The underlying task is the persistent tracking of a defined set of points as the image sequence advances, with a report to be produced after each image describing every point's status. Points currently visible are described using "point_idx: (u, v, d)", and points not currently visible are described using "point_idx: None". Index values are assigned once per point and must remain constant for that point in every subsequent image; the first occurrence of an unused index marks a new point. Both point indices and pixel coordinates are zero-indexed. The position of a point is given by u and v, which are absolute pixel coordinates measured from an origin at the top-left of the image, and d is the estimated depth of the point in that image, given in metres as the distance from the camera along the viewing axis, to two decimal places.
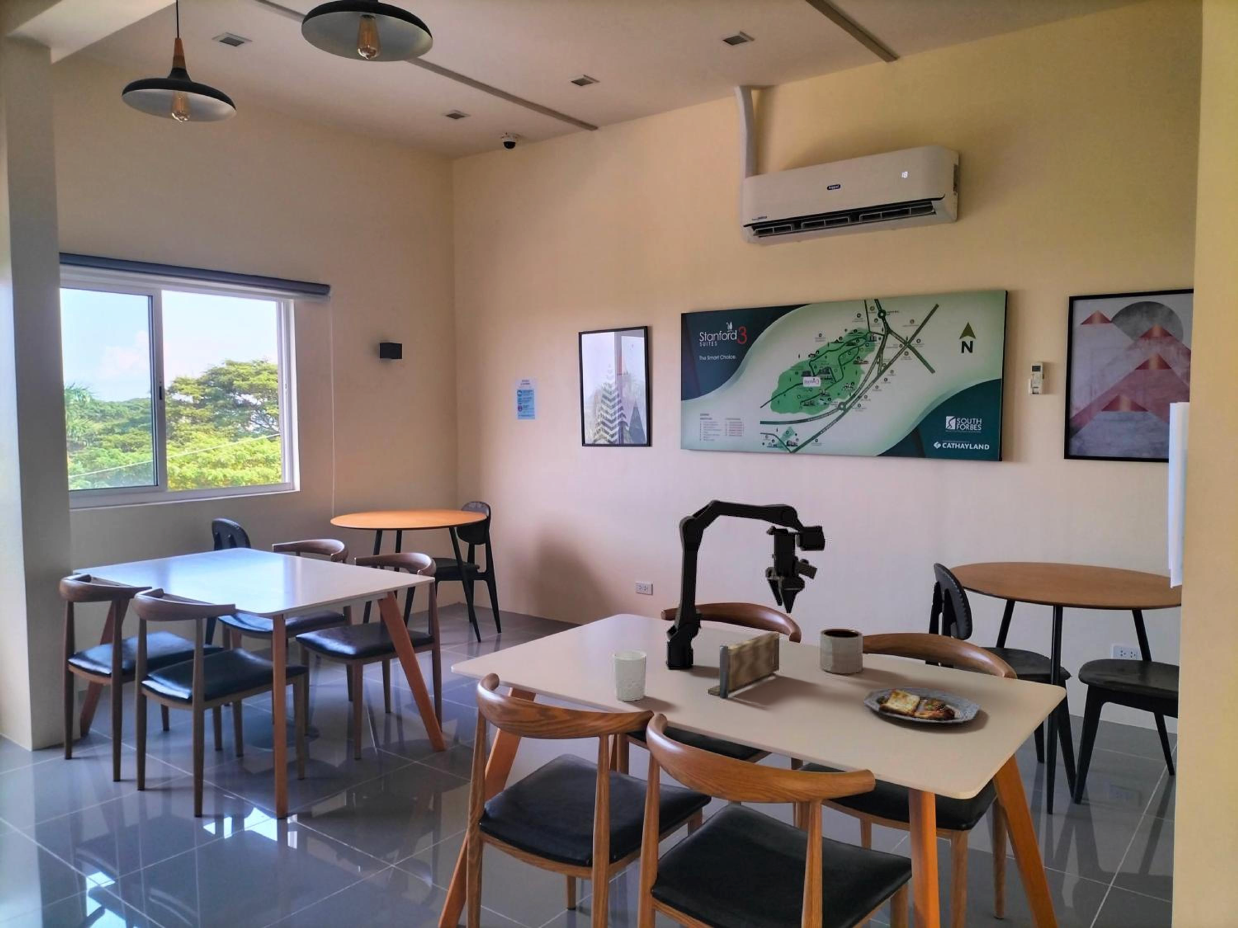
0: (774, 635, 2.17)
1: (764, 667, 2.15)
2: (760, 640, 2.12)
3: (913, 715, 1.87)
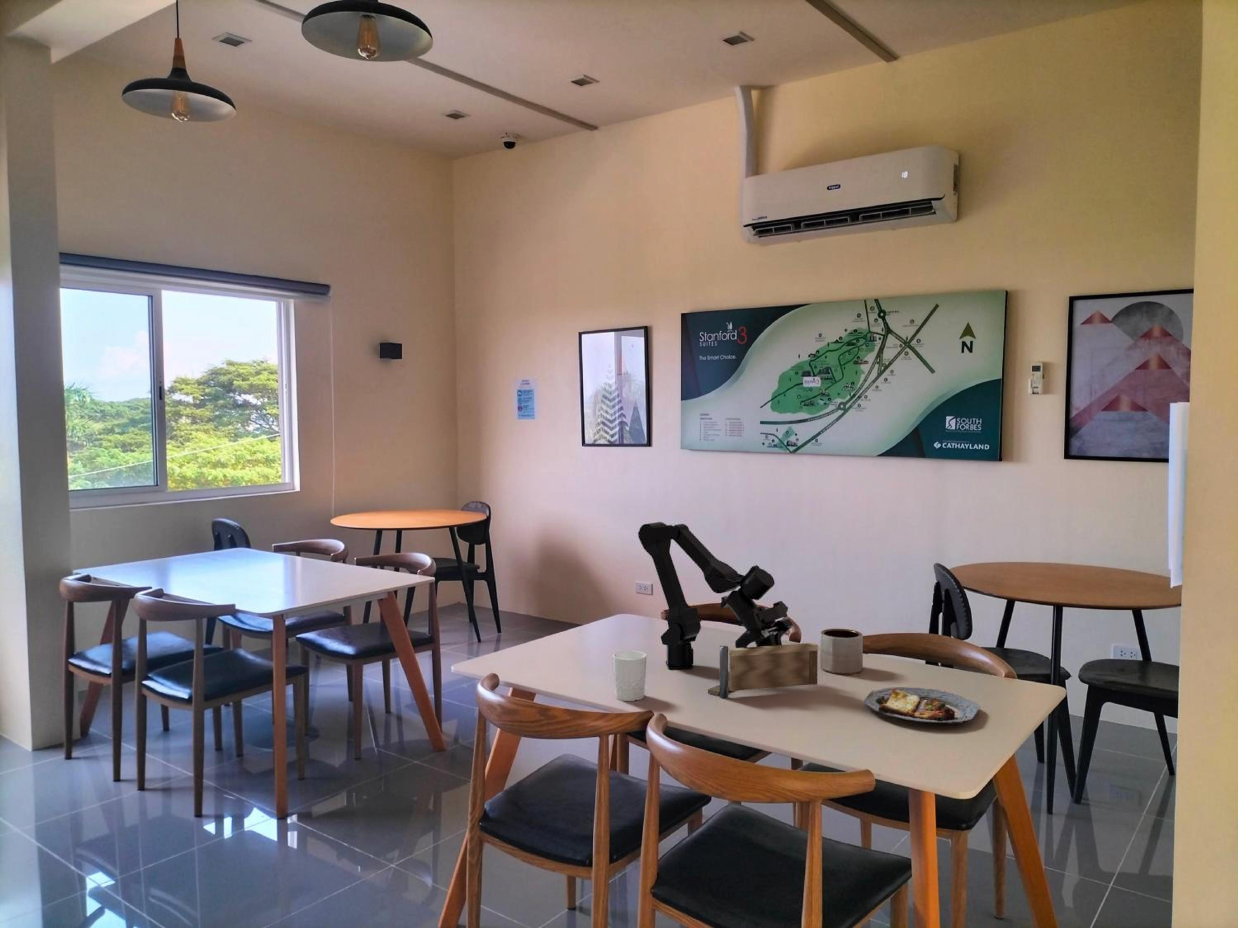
0: (808, 646, 2.06)
1: (791, 677, 2.06)
2: (782, 648, 2.05)
3: (913, 715, 1.87)
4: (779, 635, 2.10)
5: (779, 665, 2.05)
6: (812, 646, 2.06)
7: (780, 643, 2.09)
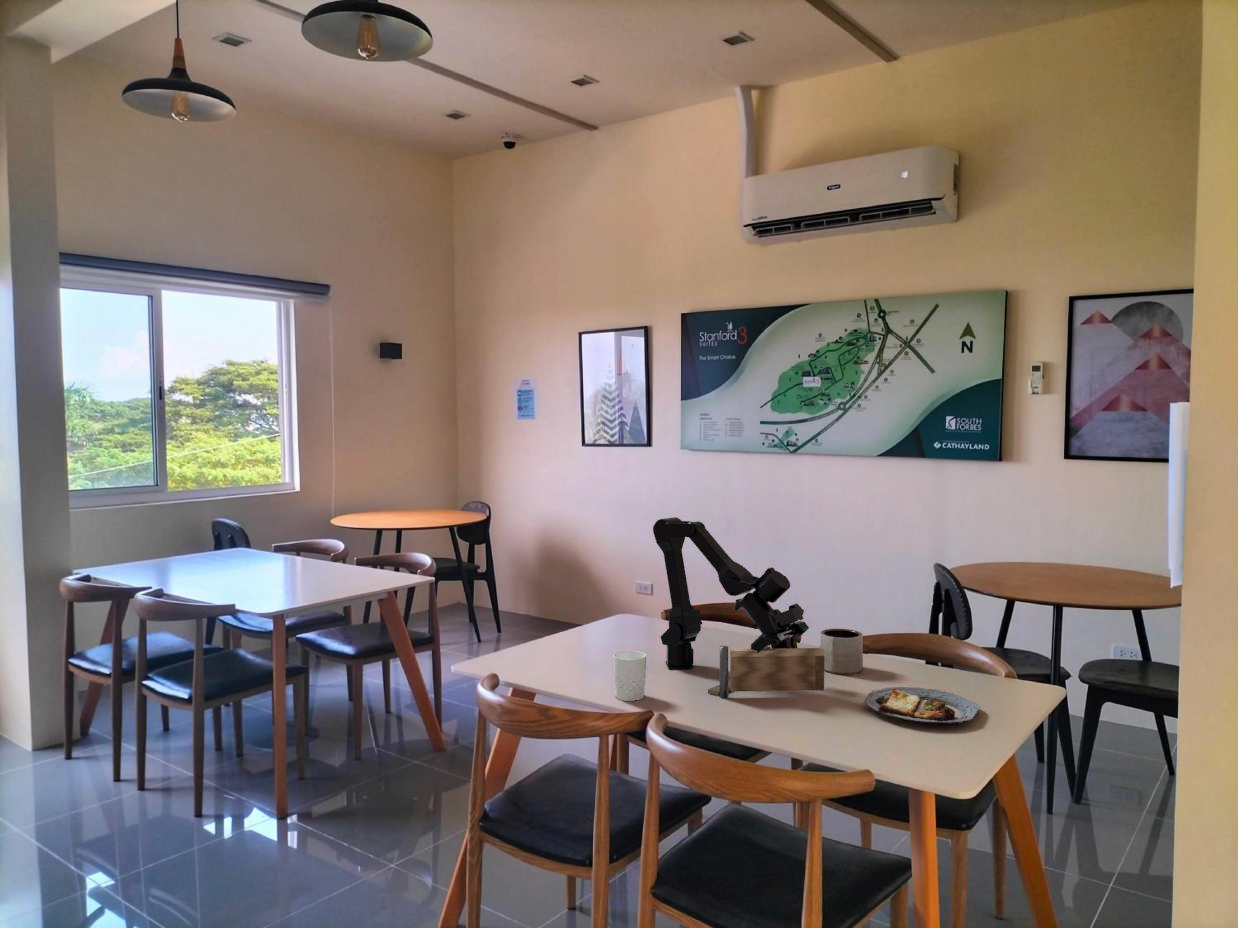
0: (813, 651, 2.02)
1: (795, 682, 2.02)
2: (786, 651, 2.02)
3: (913, 715, 1.87)
4: (795, 638, 2.07)
5: (782, 668, 2.02)
6: (818, 651, 2.02)
7: (796, 646, 2.07)
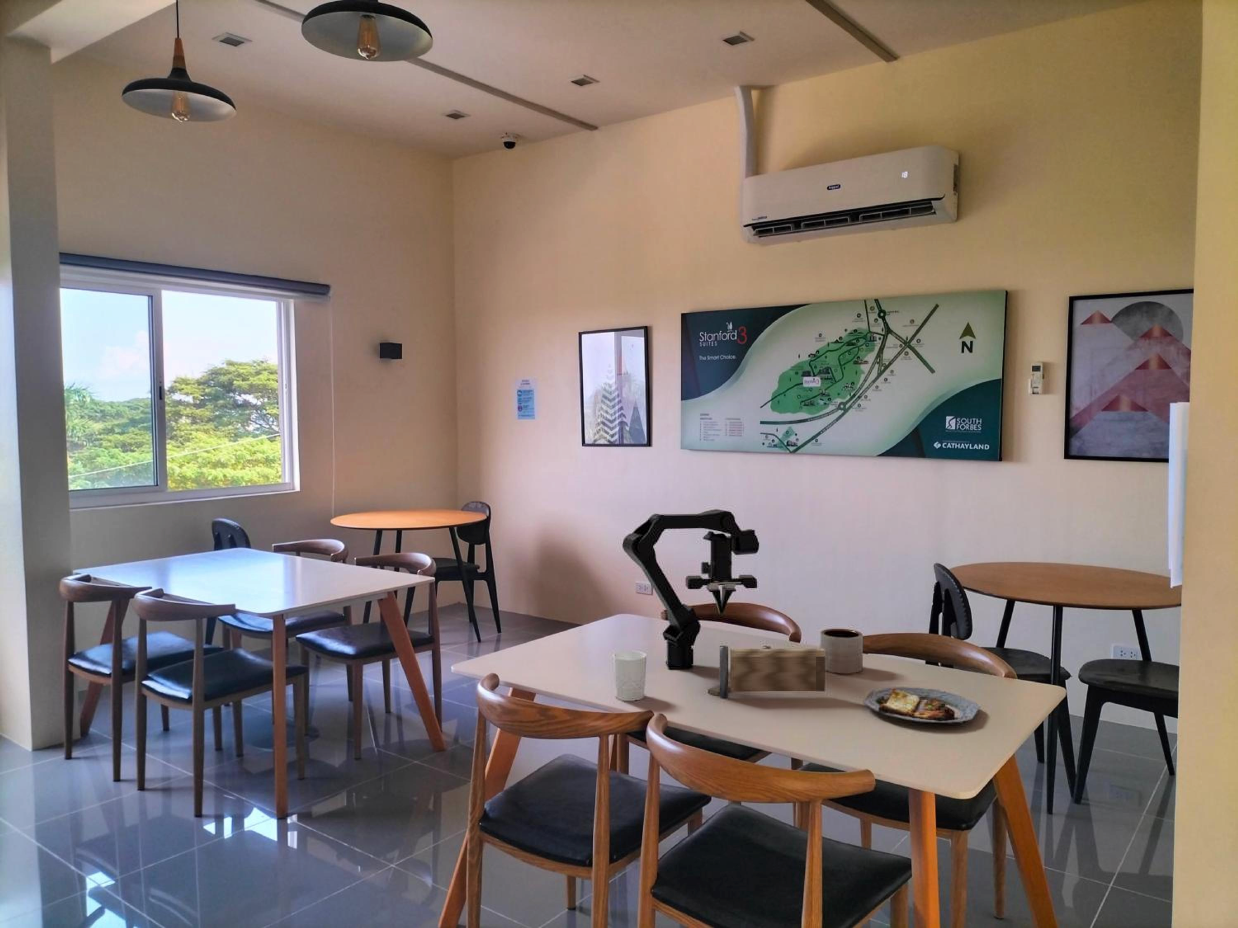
0: (814, 652, 2.01)
1: (796, 682, 2.02)
2: (786, 652, 2.01)
3: (913, 715, 1.87)
4: None
5: (783, 669, 2.02)
6: (819, 652, 2.01)
7: None
